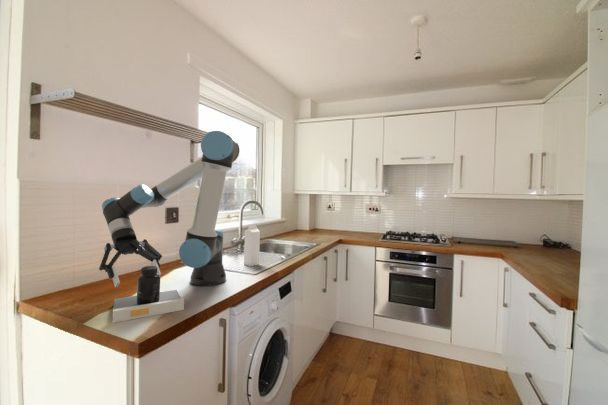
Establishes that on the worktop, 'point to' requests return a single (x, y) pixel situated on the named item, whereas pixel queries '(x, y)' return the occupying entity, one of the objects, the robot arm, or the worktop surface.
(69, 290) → the worktop surface
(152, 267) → the supplement bottle
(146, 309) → the open storage tray
